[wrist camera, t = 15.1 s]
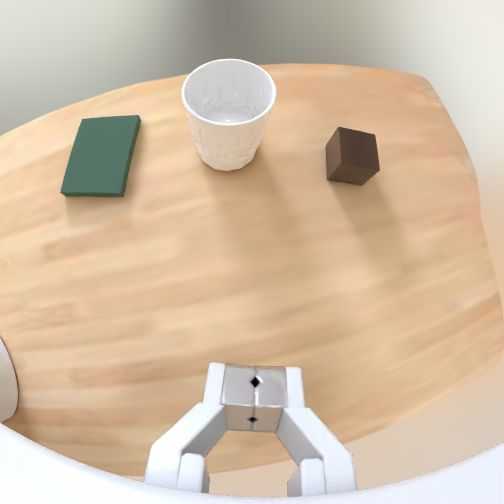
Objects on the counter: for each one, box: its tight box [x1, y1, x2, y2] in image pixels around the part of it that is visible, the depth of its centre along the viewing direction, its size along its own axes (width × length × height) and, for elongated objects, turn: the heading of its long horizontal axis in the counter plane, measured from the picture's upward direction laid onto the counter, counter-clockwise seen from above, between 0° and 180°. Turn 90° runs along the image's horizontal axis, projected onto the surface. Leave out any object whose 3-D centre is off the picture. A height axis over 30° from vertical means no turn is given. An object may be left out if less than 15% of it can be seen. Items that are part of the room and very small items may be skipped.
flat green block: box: [61, 115, 141, 197], centre depth 29 cm, size 8×10×1 cm
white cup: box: [182, 59, 276, 171], centre depth 26 cm, size 8×8×10 cm
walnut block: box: [326, 127, 380, 185], centre depth 30 cm, size 4×4×4 cm
